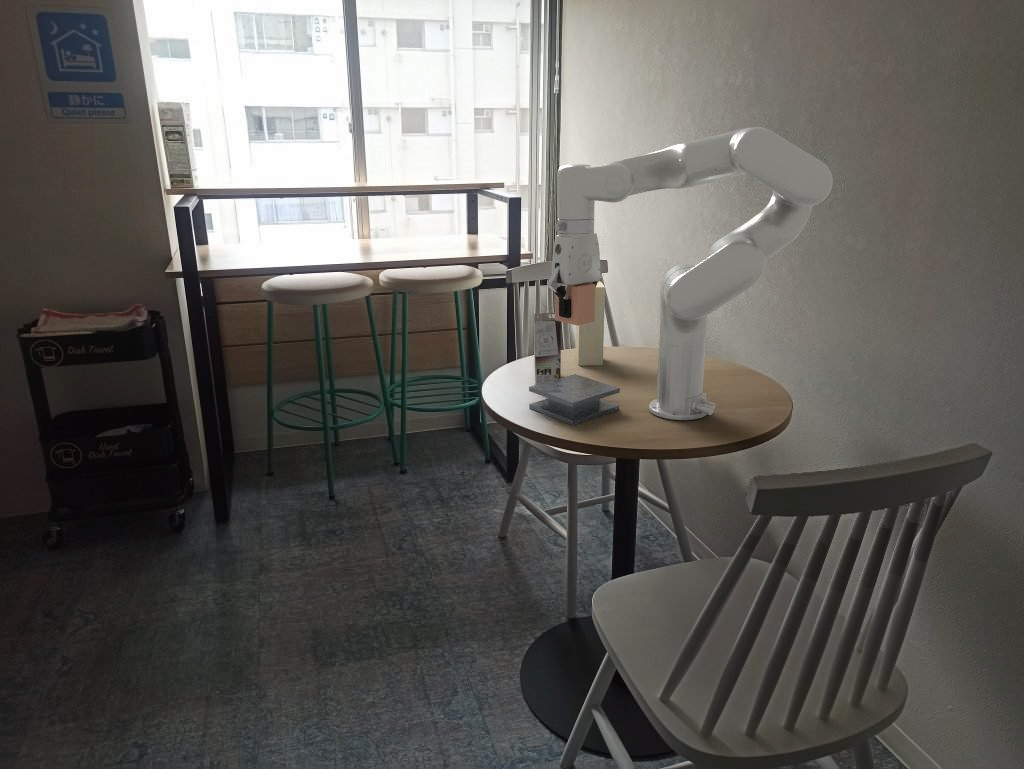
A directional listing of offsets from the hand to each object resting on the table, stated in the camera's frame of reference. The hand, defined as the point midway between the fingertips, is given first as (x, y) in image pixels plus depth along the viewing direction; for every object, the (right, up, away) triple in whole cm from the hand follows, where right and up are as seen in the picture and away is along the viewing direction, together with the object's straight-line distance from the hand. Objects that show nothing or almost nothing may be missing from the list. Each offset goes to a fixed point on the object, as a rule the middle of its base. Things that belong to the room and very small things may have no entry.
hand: (575, 314), depth 153 cm
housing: (0, -1, 0) cm, 2 cm away
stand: (0, -20, +6) cm, 21 cm away
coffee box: (-4, -14, +27) cm, 31 cm away
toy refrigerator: (+8, -9, +42) cm, 43 cm away
